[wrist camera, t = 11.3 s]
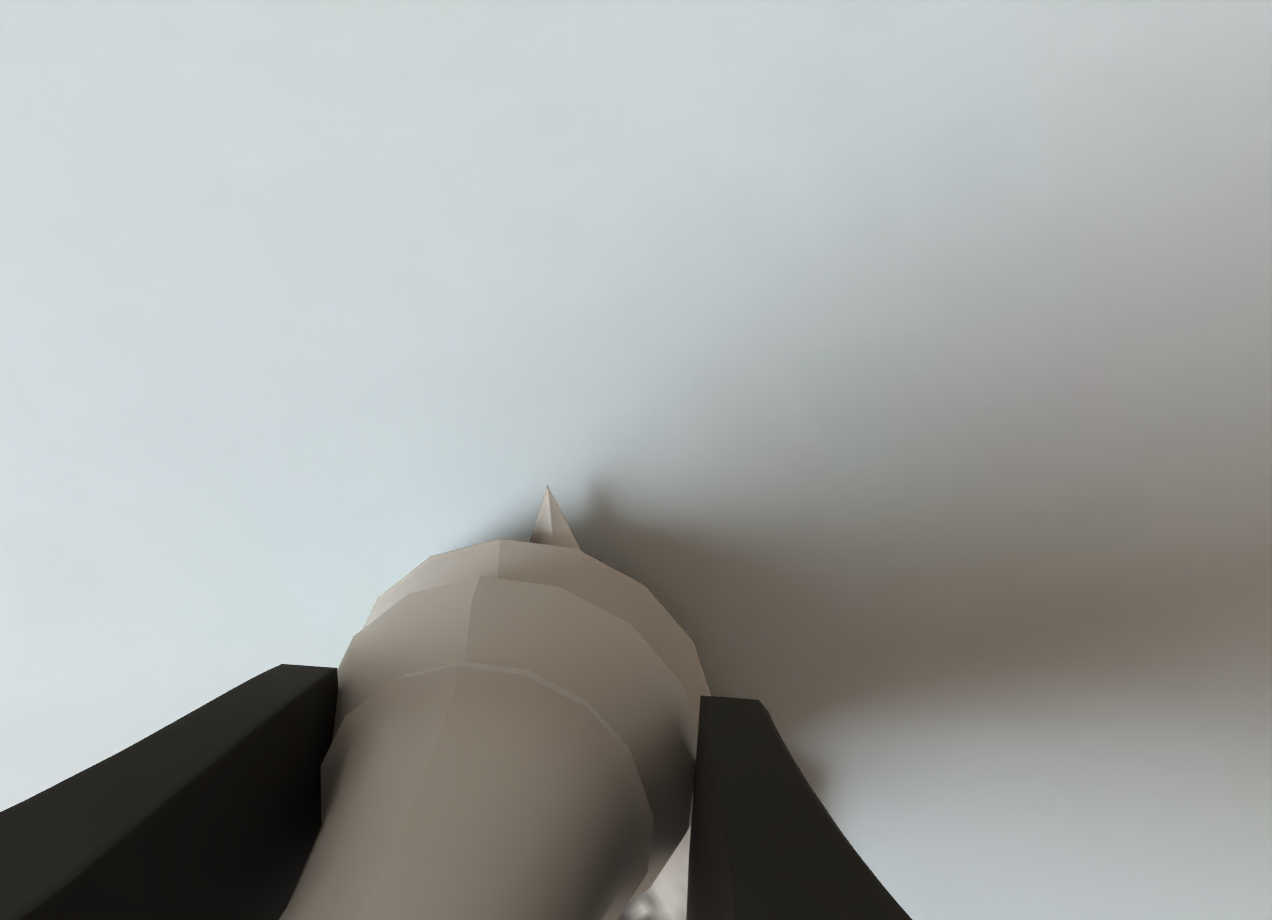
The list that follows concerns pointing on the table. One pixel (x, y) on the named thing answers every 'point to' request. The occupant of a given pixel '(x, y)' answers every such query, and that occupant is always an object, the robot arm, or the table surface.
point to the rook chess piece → (505, 745)
